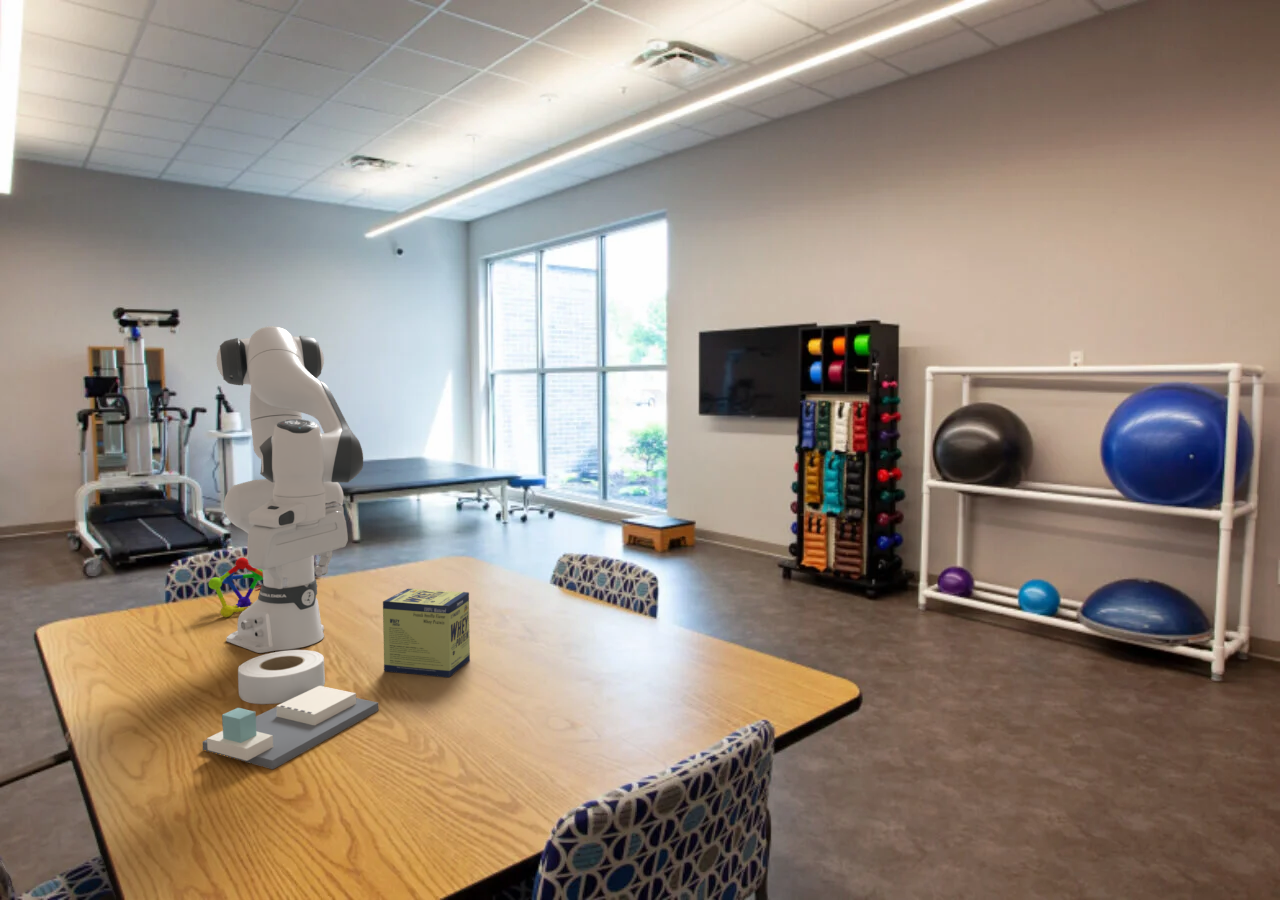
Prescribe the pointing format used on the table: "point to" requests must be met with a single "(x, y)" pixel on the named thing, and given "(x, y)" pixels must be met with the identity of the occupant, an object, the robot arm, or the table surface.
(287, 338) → the robot arm
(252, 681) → the roll of tape
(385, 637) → the protein box
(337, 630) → the table surface
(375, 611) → the table surface
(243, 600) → the educational toy
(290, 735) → the desk mat
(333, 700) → the pad
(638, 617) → the table surface
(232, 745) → the cube on white base
